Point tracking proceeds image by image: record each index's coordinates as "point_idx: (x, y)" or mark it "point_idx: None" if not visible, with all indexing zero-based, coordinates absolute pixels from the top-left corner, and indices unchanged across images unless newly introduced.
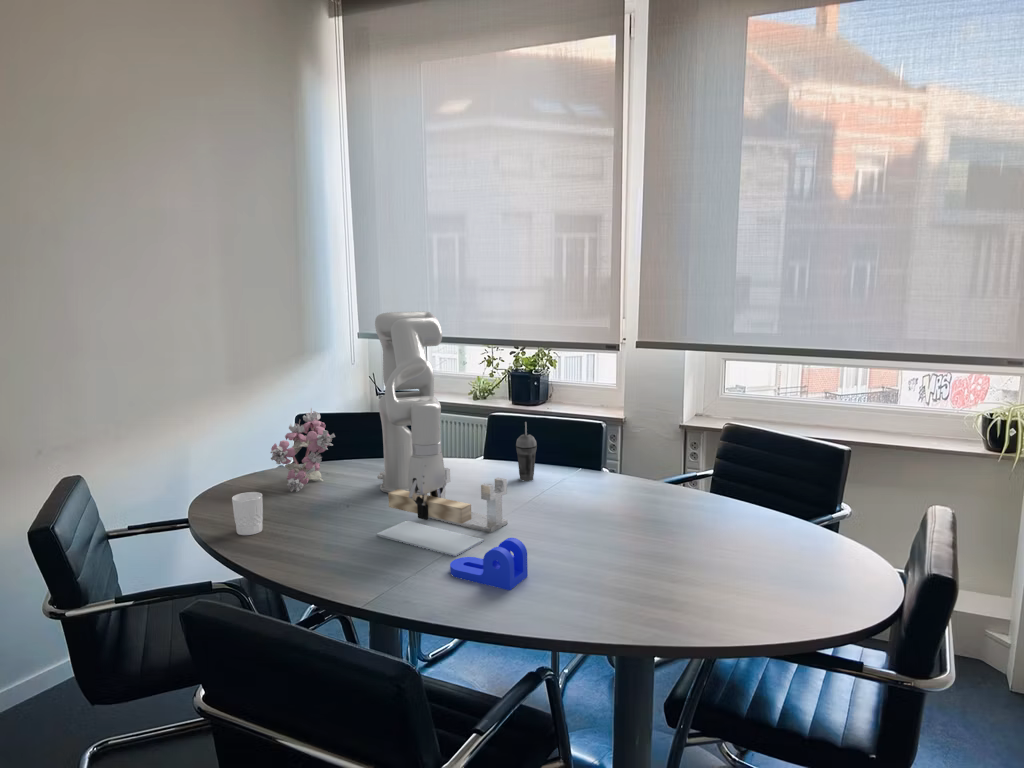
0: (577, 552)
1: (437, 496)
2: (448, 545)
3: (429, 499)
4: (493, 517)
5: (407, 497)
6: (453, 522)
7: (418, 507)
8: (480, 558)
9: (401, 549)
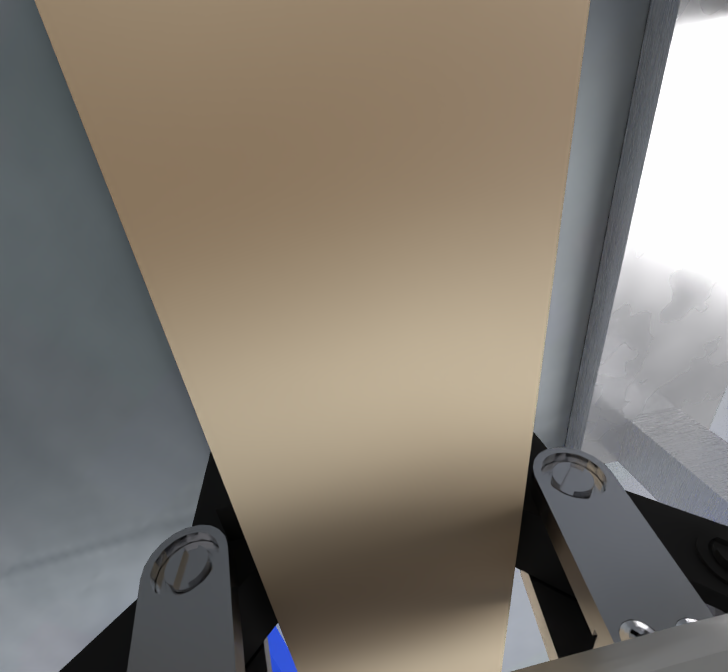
0: (527, 663)
1: (530, 597)
2: None
3: (371, 624)
4: (653, 482)
5: (154, 279)
6: (613, 238)
7: (199, 520)
8: (274, 659)
9: (78, 318)
